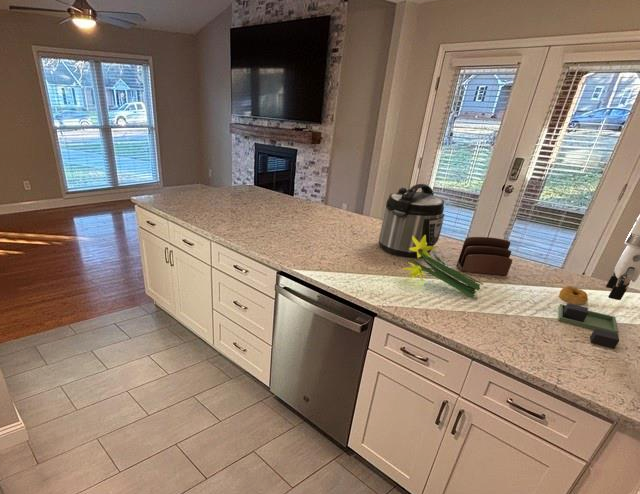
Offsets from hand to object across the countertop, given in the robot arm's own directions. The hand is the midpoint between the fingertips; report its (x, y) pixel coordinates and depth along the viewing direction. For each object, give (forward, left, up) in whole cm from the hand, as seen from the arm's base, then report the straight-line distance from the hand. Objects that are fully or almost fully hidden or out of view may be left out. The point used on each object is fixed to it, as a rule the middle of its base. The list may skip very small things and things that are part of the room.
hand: (612, 293), depth 132 cm
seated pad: (+4, -15, -17) cm, 23 cm away
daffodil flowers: (+53, -16, -18) cm, 58 cm away
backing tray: (0, -15, -18) cm, 23 cm away
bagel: (+4, -34, -18) cm, 39 cm away
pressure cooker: (+77, -52, -18) cm, 95 cm away
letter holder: (+40, -47, -18) cm, 64 cm away
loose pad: (-4, +1, -18) cm, 18 cm away
